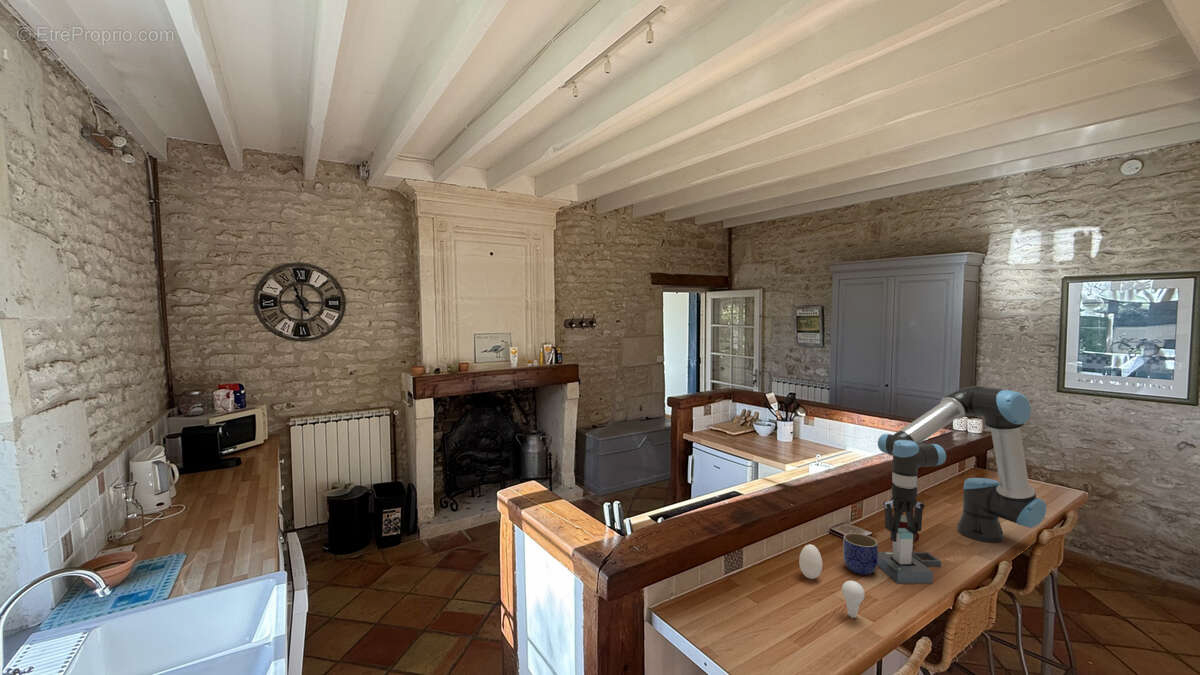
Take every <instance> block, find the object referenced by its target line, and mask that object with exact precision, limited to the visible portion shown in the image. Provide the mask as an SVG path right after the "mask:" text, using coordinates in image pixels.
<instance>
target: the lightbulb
mask: <svg viewBox="0 0 1200 675" xmlns="http://www.w3.org/2000/svg"><path fill="white" fill-rule="evenodd" d="M841 593H842V595H843V597H844V600H845V602H846V608H847V615H848V616H849V617H850V618H852V619H854V618H857V617H858V611H859V607H860V604H861V603H862V602H863V600H864V599H865V597H866V596H865V595H866V593H865V589H864V588H863V586H862V585H861V583H859V582H857V581H855V580H846V581H845V582H844V583H843V584H842V586H841Z"/></svg>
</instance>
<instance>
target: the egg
mask: <svg viewBox="0 0 1200 675" xmlns="http://www.w3.org/2000/svg"><path fill="white" fill-rule="evenodd" d="M798 560H799V562H798V563H799V568H800V570H801V573H802V574H803V575H804V576H805V577H806V578H807V579H810V580H815V579H816V578H818V577H819V576H820V575H821V573H822V570H823V559H822V556H821V553H820V551H819V549H818V548H817V547H816V545H814V544H810V543H809V544H807V545H806V544H805V546H804V547H803V548H802V549H801V552H800V553H799V559H798Z"/></svg>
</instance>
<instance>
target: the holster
mask: <svg viewBox="0 0 1200 675" xmlns="http://www.w3.org/2000/svg"><path fill="white" fill-rule="evenodd" d="M912 556H913V557H914V558H915V559H917V560H918V561H919V562H921V563H922V564H923V565H925V566H926V567H927V568H941V567H942V561H941V560H940V559H938V558H937V557H936V556H934V555H933V554H931V553H930V552H929V551H913V552H912ZM926 559H927V560H926Z"/></svg>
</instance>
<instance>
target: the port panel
mask: <svg viewBox="0 0 1200 675" xmlns="http://www.w3.org/2000/svg"><path fill="white" fill-rule="evenodd" d="M876 567H878V568H879V569H881V570H882V571H883V572H884V573H885V574H886V575H887V576H888V577H890V578H891V580H893V581H894V582H895V583H896V584H898V585H899V584H901V585H902V584H933V577H934V573H933V571H932V570H931V569H930V568H929V567H926V566H925V565H923V564H922V563H921V562H919V561H918V560H917V559H915V558H914V557H913V556H912V558H911V564H899V563H898V562H897V561H895V560H894V559H893V551H878V558H877V566H876Z"/></svg>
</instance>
